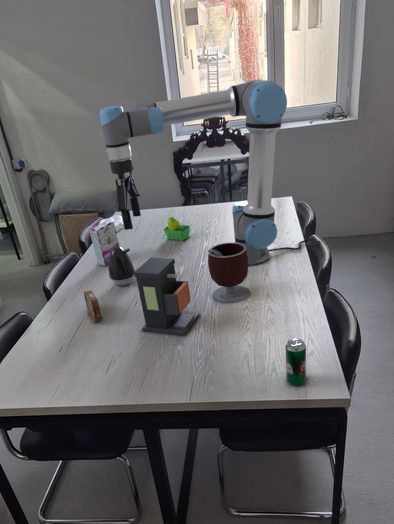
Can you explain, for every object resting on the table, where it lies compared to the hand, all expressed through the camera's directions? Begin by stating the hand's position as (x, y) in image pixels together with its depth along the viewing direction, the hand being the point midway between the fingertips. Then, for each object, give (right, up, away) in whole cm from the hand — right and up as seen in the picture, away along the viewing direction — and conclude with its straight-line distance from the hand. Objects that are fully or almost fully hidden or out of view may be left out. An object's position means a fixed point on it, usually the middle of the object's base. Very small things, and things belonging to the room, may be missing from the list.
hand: (133, 222), depth 170 cm
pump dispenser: (-7, -18, +24) cm, 31 cm away
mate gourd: (+34, -25, +4) cm, 43 cm away
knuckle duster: (-22, +20, +85) cm, 90 cm away
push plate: (+18, -31, -14) cm, 39 cm away
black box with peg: (+14, -36, -8) cm, 39 cm away
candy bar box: (-17, -5, +46) cm, 49 cm away
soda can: (+49, -53, -42) cm, 84 cm away
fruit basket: (+13, +8, +60) cm, 62 cm away
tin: (-14, -33, +3) cm, 36 cm away
